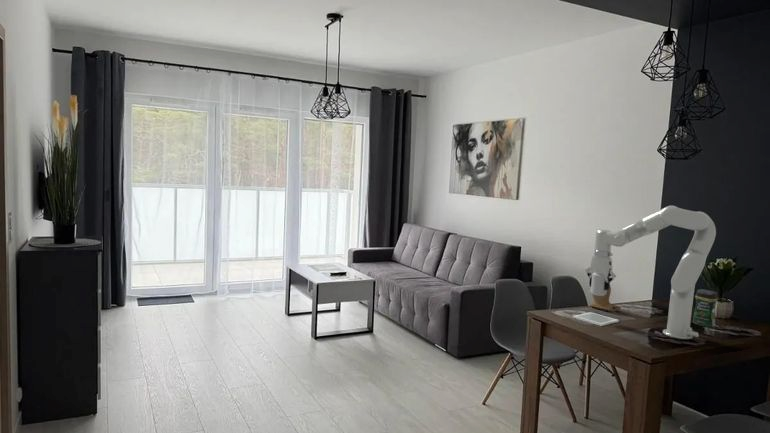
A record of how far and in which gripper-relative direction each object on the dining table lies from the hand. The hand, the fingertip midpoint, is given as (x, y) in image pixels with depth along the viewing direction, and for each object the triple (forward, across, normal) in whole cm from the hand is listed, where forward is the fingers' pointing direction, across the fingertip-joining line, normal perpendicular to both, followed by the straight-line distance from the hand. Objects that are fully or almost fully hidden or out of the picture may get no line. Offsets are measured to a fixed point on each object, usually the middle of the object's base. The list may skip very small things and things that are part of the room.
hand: (598, 287), depth 273 cm
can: (+4, 0, 0) cm, 4 cm away
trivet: (+17, 0, 0) cm, 17 cm away
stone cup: (+17, +11, -25) cm, 33 cm away
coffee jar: (+17, -33, -46) cm, 59 cm away
